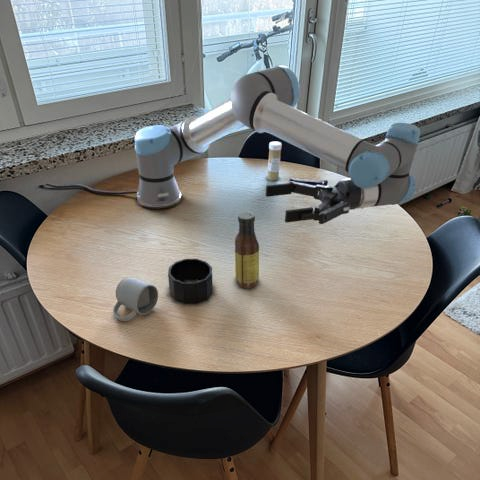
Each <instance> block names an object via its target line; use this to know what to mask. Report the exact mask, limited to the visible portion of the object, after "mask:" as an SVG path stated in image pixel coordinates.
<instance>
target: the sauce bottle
mask: <svg viewBox="0 0 480 480" xmlns="http://www.w3.org/2000/svg"><path fill="white" fill-rule="evenodd" d="M237 221H238V232H237V233H236V235H235V239H234V270H235V280H236V284H237V285H238V286H239V287H241V288H243V289H251V288H254V287H256V286H257V285H258V284H259V278H260V244H259V241H258V239H257V234H256V232H255V221H256V215H255V214H254V213H253V212H251V211H243V212H239V213H238V216H237Z"/></svg>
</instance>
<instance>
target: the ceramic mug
mask: <svg viewBox="0 0 480 480" xmlns="http://www.w3.org/2000/svg"><path fill="white" fill-rule="evenodd" d="M115 297H116V298H115V299H116V300H117V302H116V303H115V305H114V306H113V309H112V311H113V312H112V313H113V315H114V316H115V318H116V319H117V320H118V321H120V322H127V321H130V320H132V319H133V318H134V317H135V316H136V315H137V314H138V315H141V316H145V315H148V314H150V313H151V312H152V311H153V310H154V309H155V308H156V305H157V303H158V300H159V290H158V288H157V287H156V285H154V284H152V283H149V282H146V281H145V280H144V281H143V280H141V279H138V278H135V277H125V278H122V279H121V280H120V281H119V283H118V284H117V286H116V288H115ZM121 306H124V307H125V308H127V309H129V310H131V312H130V313H128V314H127V315H125V316H120V314H119V313H118V311H119V309H120V307H121Z"/></svg>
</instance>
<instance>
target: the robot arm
mask: <svg viewBox="0 0 480 480" xmlns="http://www.w3.org/2000/svg"><path fill="white" fill-rule="evenodd" d="M300 88H301V87H300V83H299V79H298V77H297V75H296V73H295V72H294V70H292V69H291V68H290V67H288V66H287V65H274V66H271V67H269V68H268V67H267V68H265V69H261V70H258V71H254V72H250V73H246V74H245V75H244V74H243V76H241V77H240V78H239V79H238V80H237V81H236V82H235V83H234V85H233V87H232V89H231V93H230V98H228V99H226V100H225V101H223V102H221V103H219V104H218V105H216V106H215V107H213V108H212V109H209V110H208V111H207V112H205V113H203V114H202V115H199V116H193V115H192V116H189V117H187V118H185V119H183V120H182V121H181V122H179V123H177V124H174V125H171V126H169V127H167V126H165V125H161V124H154V125H147V126H144V127H143V128H140V129H139V130H138V131H137V132H136V134H134V135H135V136H134V152H135V154H136V155H135V156H136V161H137V168H138V169H137V170H138V175H139V181H138V187H137V190H124V191H109V190H99V189H95V188H92V187H89V186H87V185H85V184H84V185H83V184H53V183H51V182H46V183H47V184H46V185H40V184H39V186H38V187H39V188H42V187H44V186H48V187H52V188H56V189H67V188H80V189H81V188H82V189H85V190H88V191H90V192H92V193H97V194H101V195H128V194H129V195H130V194H132V195H133V194H134V195H135V194H136V200H137V203H138V204H139V205H140V206H141V207H143V208H147V209H152V210H153V209H154V210H163V209H167V208H171V207H175V206H176V205H178V204H179V203H180V202H181V200H182V192H181V190H180V188H179V186H178V182H177V181H176V178H175V170H174V169H175V168H174V166H176V165H178V164H180V163H182V162H183V163H184V162H185V161H188V160H191V159H193V158H197V157H199V156H201V155H202V154H204V153H205V152H206V151H207V150H208V149H209V148H210V147H211V143H213V142H215V141H217V140H219V139H221V138H223V137H225V136H228V135H229V134H231V133H233V132H236V131H237V130H239V129H241V128H243V127H247V128H248V129H250V130H253V131H254V132H256V133H259V134H262V133H263V134H264V133H265V132H266V133H267V134H270V135H272V136H274V137H276V138H278V139H279V140H282V141H284V142H286V143H288V144H290V145H293V146H294V147H297V148H298V149H301V150H302V151H304V152H307V153H309V154H310V155H313V156H314V157H317V158H318V159H320V160H323V161H325V162H327V163H329V164H331V165H333V166H334V167H337V168H339V169H341V170H342V171H345V172H347V173H348V175H349V178H343V179H340V180H339V181H338V182H337V183H336V184H335V185H329V184H328V183H329V180H326V179H322V180H319V179H318V180H317V179H308V178H307V179H306V178H295V177H290V178H289V180H288V181H289V182H284V183H276V184H268V185H266V186H265V197H266V198H269V197H270V198H271V197H278V196H286V195H289V196H290V195H292V193H293V194H298V195H303V196H307V197H312V198H313V199H314V200H318V201H320V202H321V203H320V204H318V206H314V207H313V206H312V207H311V206H310V207H302V208H295V209H288V210H287V209H286V210H285V215H284V222H285V224H286V223H293V222H301V221H310V220H312V221H315V222H317V221H318V224H319V225H324V224H326V223H328V222H330V221H332V220H334V219H336V218H338V217H340V216H341V215H346V214H349V213H350V211H353V210H357V209H366V208H373V207H381V206H391V205H392V206H394V205H395V206H396V205H398V204H399V205H400V204H403V203H406V202H409V201H410V200H412V198H413V197H414V195H415V193H416V189H417V188H416V179H415V176H414V175H413V174H411V173H410V172H411V168H412V165H413V162H414V158H415V155H416V151H417V149H418V146H419V141H420V136H421V129H420V128H419V127H418V126H417V125H415V124H412V123H408V122H395V123H391V124H390V125H389V126H388V128H387V131H386V134H385V136H384V140H383V141H381V142H379V143H378V144H374V143H370V142H368V141H366V140H364V139H362V138H360V137H358V136H355V135H353V134H352V133H349V132H347V131H346V130H343V129H340V128H339V127H336V126H334V125H332V124H330V123H328V122H326V121H323V120H322V119H320V118H317V117H315V116H312V115H311V114H308V113H306V112H304V111H302V110H299V109H297V108H295V107H296V106H297V104H298V102H299V98H300V94H301V89H300Z"/></svg>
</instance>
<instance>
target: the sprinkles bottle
mask: <svg viewBox="0 0 480 480" xmlns="http://www.w3.org/2000/svg"><path fill="white" fill-rule="evenodd" d="M282 145H283V144H282V142H281V141H277V140H276V141H270V142H269V144H268V150H269V152H268V161H267V162H268V163H267V175H266V176H267V177H266V178H267V179H268V180H270V181H278V180H279V179H280V165H281V153H282Z"/></svg>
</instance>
